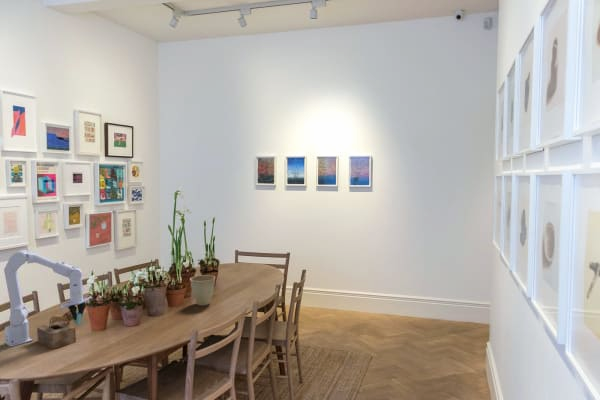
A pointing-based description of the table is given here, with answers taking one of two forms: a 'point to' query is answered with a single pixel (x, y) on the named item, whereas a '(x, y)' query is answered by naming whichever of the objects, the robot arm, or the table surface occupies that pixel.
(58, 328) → the box
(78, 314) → the cylinder
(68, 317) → the lion figurine
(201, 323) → the table surface
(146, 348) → the table surface
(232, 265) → the table surface
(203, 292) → the plant pot
